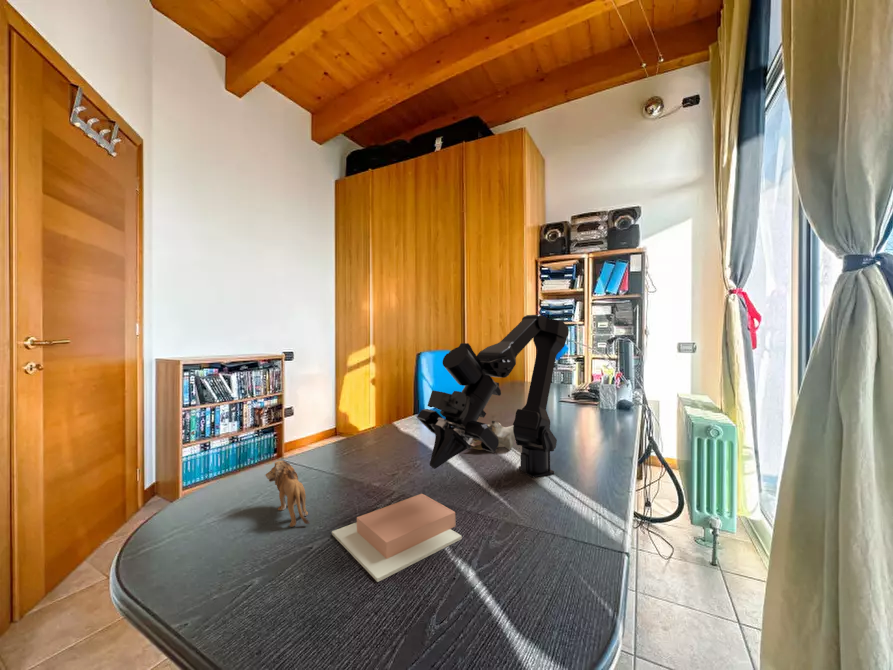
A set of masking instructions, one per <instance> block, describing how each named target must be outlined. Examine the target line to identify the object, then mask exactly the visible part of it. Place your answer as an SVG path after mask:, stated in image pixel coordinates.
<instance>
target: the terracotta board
mask: <svg viewBox="0 0 893 670" xmlns="http://www.w3.org/2000/svg"><path fill="white" fill-rule="evenodd" d="M356 522H357V532H358V533H359V534H360V535H361V536H362V537H363V538H364V539H365V540H366V541H368V542H369V543H370V544H371V545H372V546H373V547H374V548H375V549H376V550H377V551H379V552H380V553H381V554H382V555H383V556H384V557H385V558H386V559H388V558H390V557H392V556H394V555H396V554H398V553H400V552H402V551H404V550H407V549H409V548H411V547H413V546H415V545H417V544H419V543H421V542H423V541H426V540H428V539H430V538H432V537H434V536H436V535H438V534H440V533H442V532H444V531H447V530H449V529H451V530H452V529H453V528H455V527H456V511H454V510H452V509H451V508H449V507H447V506H445V505H443V504H442V503H440V502H439V501H436V500H434V499H432V498H430V496H428V495H425V494H423V493H420V494H417V495H414V496H411V497H409V498H406V499H404V500H401V501H398V502H395V503H392V504H390V505H389V504H388V505H387V506H384V507H382V508H378V509H376V510H374V511H371V512H368V513H365V514H362V515H359V516H356Z"/></svg>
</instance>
